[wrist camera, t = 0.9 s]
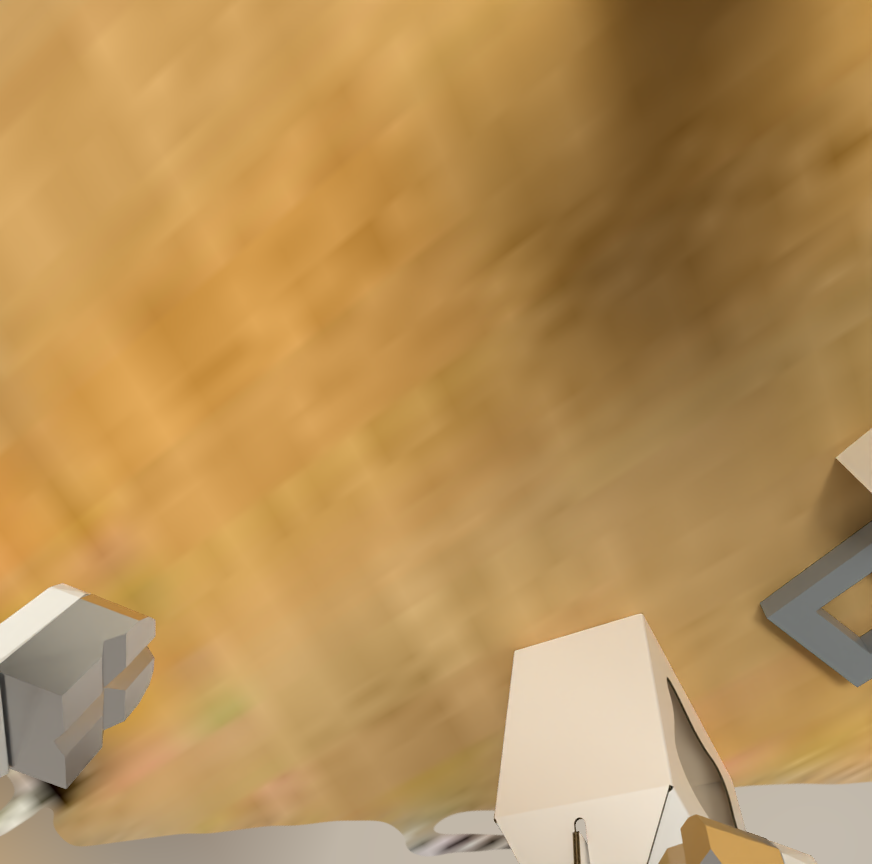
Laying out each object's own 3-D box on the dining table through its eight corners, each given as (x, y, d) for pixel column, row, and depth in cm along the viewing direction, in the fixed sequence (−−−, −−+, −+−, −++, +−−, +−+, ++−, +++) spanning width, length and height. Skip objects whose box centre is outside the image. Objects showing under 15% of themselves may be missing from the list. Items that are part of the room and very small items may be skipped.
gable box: (733, 780, 58) (860, 1233, 33) (607, 803, 63) (633, 1215, 37) (640, 609, 53) (706, 986, 28) (512, 648, 58) (467, 1000, 32)
